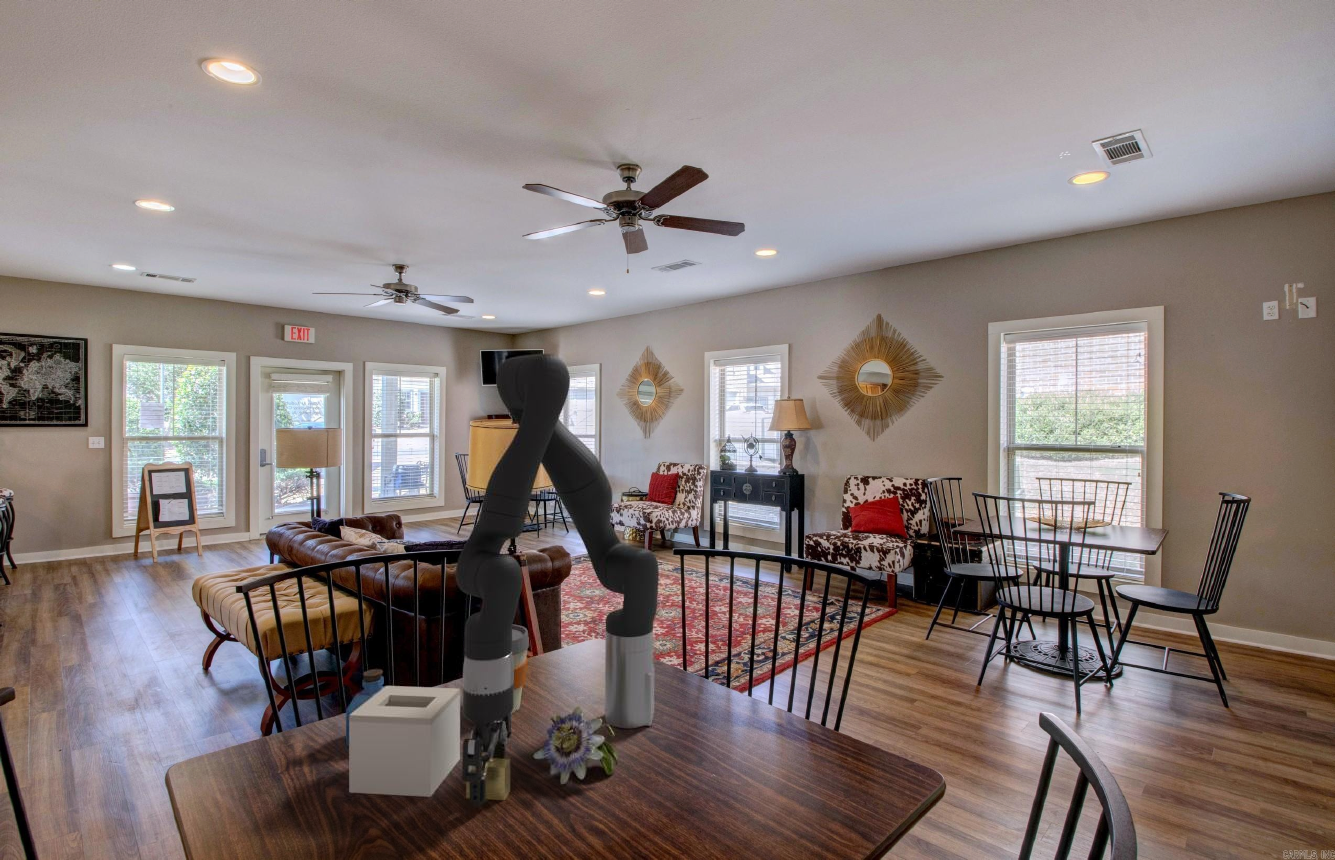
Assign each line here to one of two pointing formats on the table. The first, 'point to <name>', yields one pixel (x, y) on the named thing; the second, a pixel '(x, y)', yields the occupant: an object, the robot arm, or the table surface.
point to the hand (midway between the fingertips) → (488, 786)
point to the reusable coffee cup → (519, 661)
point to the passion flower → (575, 746)
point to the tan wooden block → (496, 780)
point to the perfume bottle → (365, 693)
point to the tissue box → (404, 741)
